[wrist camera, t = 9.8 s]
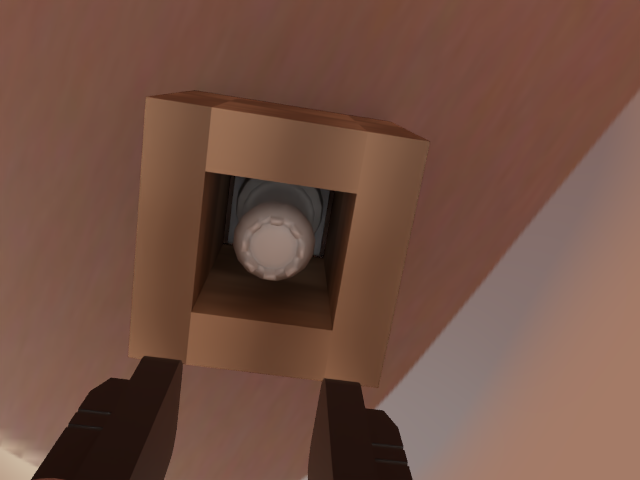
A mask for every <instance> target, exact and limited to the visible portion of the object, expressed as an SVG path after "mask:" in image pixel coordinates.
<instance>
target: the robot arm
mask: <svg viewBox="0 0 640 480" xmlns="http://www.w3.org/2000/svg"><path fill="white" fill-rule="evenodd" d="M182 368H183V364H182V360H176V359H168V358H159V357H151V356H144V357H143V358H142V359H141V361H140V363H139V365H138V367H137V368H136V370H135V372H134V374H133V375H132V377H131V379H130V380H126V379H118V378H110V379H108V380H107V381H105V382H104V383H102V384H101V385H99V386H98V387H96V388H94V389H93V390H91V391H90V392H89V394H88V395H87V397H86V398H85V400H84V401H83V403H82V404H81V406H80V407H79V409H78V412H76V413H75V415H74V416H73V418H72V419H71V421H70V422H69V424H68V427H66V428H65V430H64V431H63V433H62V434H61V436H60V437H59V439H58V440H57V442H56V443H55V445H54V446H53V448H52V449H51V450H50V452H49V453H48V455H47V456H46V458H45V459H44V461H43V462H42V464H41V465H40V467H39V468H38V470H37V471H36V473H35V474H34V476H33V477H32V479H31V480H164V477H165V474H166V472H167V469H168V466H169V463H170V459H171V456H172V452H173V447H174V442H175V436H176V430H177V420H178V410H179V400H180V390H181V380H182ZM407 463H408V462H407V458H406V454H405V451H404V450H403V443H402V440H401V436H400V433H399V429H398V427H397V426H396V425H395V424H394V423H393V421H392V420H391V419H390V418H389V417H388V415H387V414H386V413H385V412H384V411H382V410H375V409H366V408H365V405H364V400H363V395H362V390H361V385H360V383H359V382H352V381H344V380H336V379H328V378H324V379H323V381H322V385H321V390H320V395H319V401H318V407H317V412H316V418H315V423H314V429H313V435H312V440H311V446H310V454H309V464H308V480H412V476H411V472H410V469H409V466H407Z"/></svg>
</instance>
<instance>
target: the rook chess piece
mask: <svg viewBox="0 0 640 480" xmlns="http://www.w3.org/2000/svg"><path fill="white" fill-rule="evenodd" d="M323 205H324V202H323V198H322V194H321V190H320V188H314V187H307V186H301V185H294V184H287V183H280V182H274V181H267V180H260V179H254V178H247V177H246V178H245V180H244V182H243V184H242V186H241V187H240V189H239V191H238V196H237V206H236V214H237V217H238V221H239V223H238V224H237V226H236V228H235V230H234V240H233V247H234V250H235V253H236V256H237V259H238V261H239V262H240V263H241V264H242V265H243V267H244V268H245V269H246V270H247V271H248V272H249V273H251V274H253V275H255V276H257V277H259V278H261V279H265V280H273V281H279V280H283V279H287V278H291V277H294V276H295V275H296V274H298V273H299V272H300V271H302V270H303V269H305V268H306V266H307V264H308V263H309V261H310V259H311V258H312V256H313V253H314V246H315V236H314V233H315V232H316V230H317V229H318V227H319V225H320V224H321V219H322V212H323Z"/></svg>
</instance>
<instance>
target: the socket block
mask: <svg viewBox="0 0 640 480" xmlns="http://www.w3.org/2000/svg"><path fill="white" fill-rule="evenodd" d="M429 144H430V141H428V140H426V139H424V138H422V137H420V136H418V135H416V134H414V133H412V132H410V131H408V130H406V129H404V128H402V127H400V126H398V125H396V124H394V123H392V122H389V121H383V120H376V119H370V118H364V117H357V116H351V115H345V114H339V113H332V112H326V111H320V110H314V109H307V108H301V107H295V106H289V105H282V104H276V103H270V102H264V101H257V100H251V99H245V98H238V97H232V96H226V95H220V94H213V93H207V92H201V91H195V90H194V91H186V92H179V93H171V94H164V95H156V96H148V97H146V102H145V117H144V132H143V146H142V161H141V176H140V190H139V205H138V220H137V234H136V249H135V264H134V278H133V293H132V308H131V322H130V337H129V352H128V357H130V358H138V359H142V358H143V357H144V356H151V357H159V358H168V359H176V360H182V364H187V365H195V366H203V367H211V368H220V369H228V370H236V371H244V372H252V373H260V374H268V375H277V376H285V377H293V378H301V379H309V380H317V381H323V379H324V378H328V379H336V380H344V381H352V382H359V383H360V385H361V386H366V387H375V388H378V387H379V382H380V377H381V373H382V368H383V363H384V358H385V354H386V349H387V344H388V339H389V335H390V330H391V325H392V320H393V316H394V311H395V306H396V301H397V297H398V292H399V287H400V282H401V278H402V273H403V268H404V263H405V259H406V254H407V249H408V244H409V240H410V235H411V230H412V225H413V221H414V216H415V211H416V206H417V202H418V197H419V192H420V187H421V182H422V178H423V173H424V168H425V163H426V159H427V154H428V149H429ZM231 175H233V176H240V177H247V178H254V179H260V180H267V181H274V182H280V183H287V184H294V185H301V186H307V187H314V188H321V189H327V190H334V191H335V193H334V199H333V205H332V211H331V217H330V223H329V229H328V235H327V241H326V246H325V252H324V258H318V257H312V258H311V259H310V261H309V263H308V264H307V266H306V268H305V269H303V270H302V271H300V272H299V273H298V274H296V275H295V276H294V277H291V278H287V279H283V280H279V281H273V280H265V279H261V278H259V277H257V276H255V275H253V274H251V273H249V272H248V271H247V270H246V269H245V268H244V267H243V265H242V264H241V263H240V262H239V261H238V259H237V256H236V253H235V250H234V247H233V246H232V245H224V244H223V238H224V229H225V220H226V212H227V203H228V194H229V185H230V176H231Z"/></svg>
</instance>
